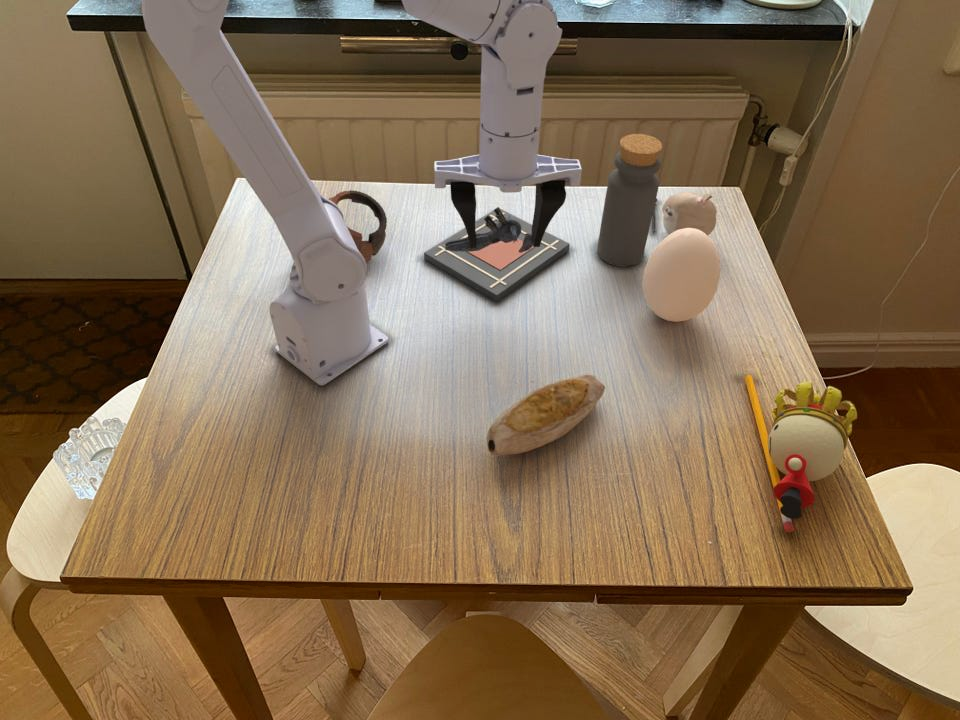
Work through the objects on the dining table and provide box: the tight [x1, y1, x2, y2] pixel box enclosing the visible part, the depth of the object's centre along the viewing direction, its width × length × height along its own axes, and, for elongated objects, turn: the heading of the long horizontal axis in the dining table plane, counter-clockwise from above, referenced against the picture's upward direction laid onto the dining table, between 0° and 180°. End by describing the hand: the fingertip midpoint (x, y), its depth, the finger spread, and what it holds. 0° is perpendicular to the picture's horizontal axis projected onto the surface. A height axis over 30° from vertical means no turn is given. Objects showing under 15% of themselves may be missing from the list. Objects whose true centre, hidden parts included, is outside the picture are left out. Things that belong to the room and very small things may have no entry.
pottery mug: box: [328, 189, 388, 265], centre depth 87 cm, size 12×10×8 cm
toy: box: [768, 381, 858, 520], centre depth 64 cm, size 7×7×15 cm
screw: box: [651, 197, 658, 234], centre depth 95 cm, size 8×1×1 cm
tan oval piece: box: [486, 374, 606, 457], centre depth 67 cm, size 5×14×4 cm, turn 126°
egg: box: [642, 228, 721, 323], centre depth 77 cm, size 8×8×11 cm
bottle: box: [596, 133, 663, 267], centre depth 84 cm, size 6×6×15 cm
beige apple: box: [662, 191, 718, 237], centre depth 89 cm, size 7×6×8 cm
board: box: [423, 208, 571, 303], centre depth 88 cm, size 14×12×1 cm
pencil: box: [744, 374, 795, 533], centre depth 67 cm, size 1×18×1 cm, turn 175°
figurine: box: [444, 206, 533, 253], centre depth 77 cm, size 12×10×5 cm
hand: (503, 242), depth 76 cm, fingers closed on figurine, 6 cm apart
